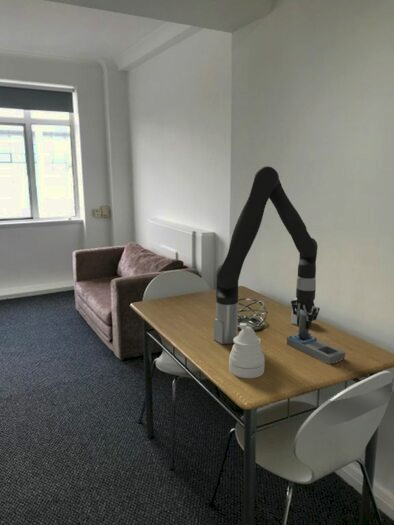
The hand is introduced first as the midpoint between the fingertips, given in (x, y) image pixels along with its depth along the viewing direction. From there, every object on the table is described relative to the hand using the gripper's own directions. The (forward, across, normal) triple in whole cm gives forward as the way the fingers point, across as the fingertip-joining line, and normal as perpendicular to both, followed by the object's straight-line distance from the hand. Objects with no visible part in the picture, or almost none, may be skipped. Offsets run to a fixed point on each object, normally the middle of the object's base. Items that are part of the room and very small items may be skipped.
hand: (303, 327), depth 174 cm
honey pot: (+8, +4, -33) cm, 34 cm away
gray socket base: (+8, +6, 0) cm, 10 cm away
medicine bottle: (+8, -20, +19) cm, 29 cm away
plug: (+4, 0, 0) cm, 4 cm away
